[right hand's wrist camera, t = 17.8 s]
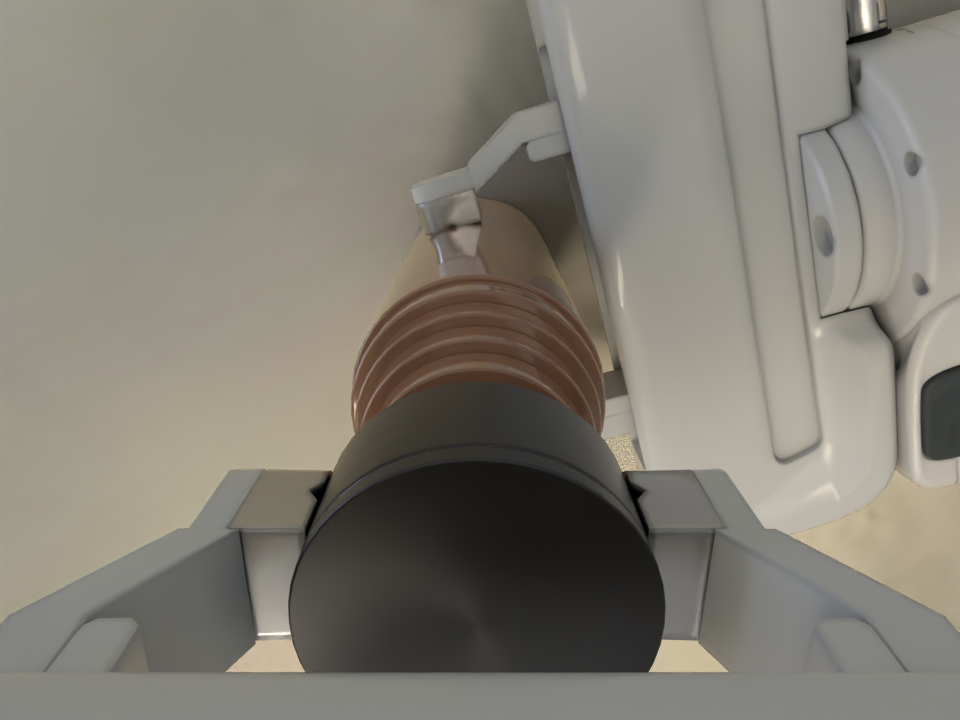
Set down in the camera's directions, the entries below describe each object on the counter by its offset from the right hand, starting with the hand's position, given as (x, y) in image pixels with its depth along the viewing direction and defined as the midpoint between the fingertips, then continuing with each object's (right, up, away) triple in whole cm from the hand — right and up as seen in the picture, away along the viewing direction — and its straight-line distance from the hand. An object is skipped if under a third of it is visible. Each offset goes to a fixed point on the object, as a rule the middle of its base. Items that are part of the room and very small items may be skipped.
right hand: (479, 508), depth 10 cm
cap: (0, -1, -2) cm, 2 cm away
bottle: (0, +6, +16) cm, 17 cm away
